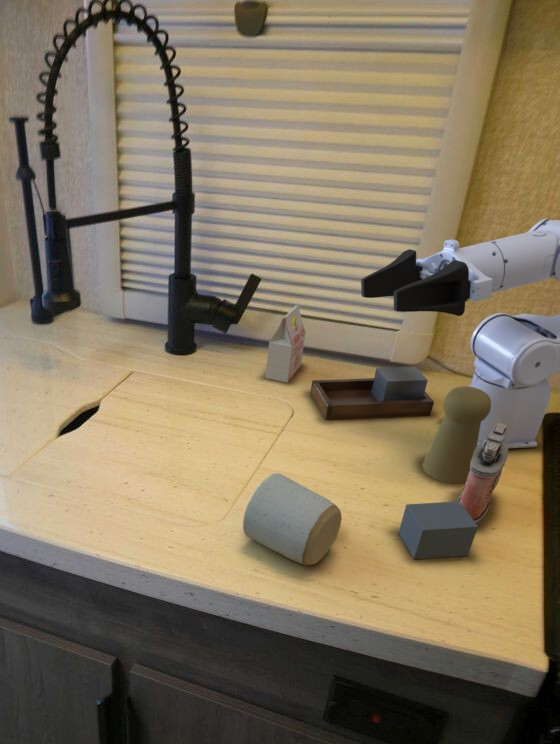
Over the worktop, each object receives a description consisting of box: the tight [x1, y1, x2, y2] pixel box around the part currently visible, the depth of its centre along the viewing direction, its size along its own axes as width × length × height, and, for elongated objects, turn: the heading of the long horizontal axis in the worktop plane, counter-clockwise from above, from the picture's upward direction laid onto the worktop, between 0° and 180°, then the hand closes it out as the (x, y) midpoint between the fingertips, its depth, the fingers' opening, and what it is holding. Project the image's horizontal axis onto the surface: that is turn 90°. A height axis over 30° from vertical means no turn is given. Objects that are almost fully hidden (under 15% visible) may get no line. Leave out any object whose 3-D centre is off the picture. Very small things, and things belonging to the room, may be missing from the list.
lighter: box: [457, 423, 509, 526], centre depth 75 cm, size 8×3×10 cm, turn 148°
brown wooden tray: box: [309, 366, 435, 421], centre depth 97 cm, size 16×8×5 cm, turn 96°
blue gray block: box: [398, 500, 479, 560], centre depth 71 cm, size 6×4×4 cm
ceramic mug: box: [242, 472, 342, 566], centre depth 70 cm, size 11×8×8 cm
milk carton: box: [265, 304, 307, 384], centre depth 104 cm, size 4×7×10 cm, turn 154°
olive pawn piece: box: [422, 385, 491, 485], centre depth 81 cm, size 6×6×11 cm
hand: (378, 294), depth 75 cm, fingers open, 7 cm apart
